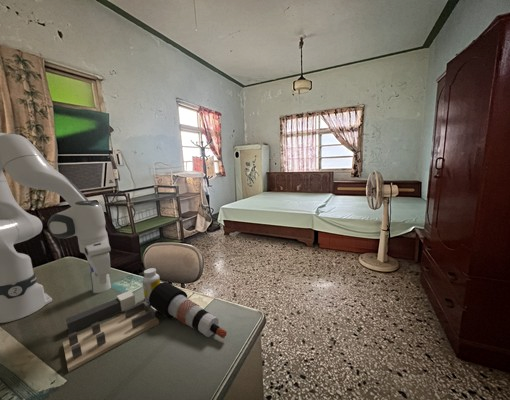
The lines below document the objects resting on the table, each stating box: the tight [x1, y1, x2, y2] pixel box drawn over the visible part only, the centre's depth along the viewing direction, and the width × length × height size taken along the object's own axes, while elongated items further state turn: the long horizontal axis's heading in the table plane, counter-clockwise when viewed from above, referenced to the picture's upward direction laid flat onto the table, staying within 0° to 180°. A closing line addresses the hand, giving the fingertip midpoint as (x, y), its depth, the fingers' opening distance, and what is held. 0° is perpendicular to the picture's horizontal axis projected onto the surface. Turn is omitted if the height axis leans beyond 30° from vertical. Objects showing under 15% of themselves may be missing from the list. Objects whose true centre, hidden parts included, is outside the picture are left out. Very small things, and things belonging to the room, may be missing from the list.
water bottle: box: [85, 256, 112, 294], centre depth 102 cm, size 8×9×25 cm
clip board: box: [62, 300, 160, 373], centre depth 73 cm, size 14×25×4 cm, turn 136°
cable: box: [148, 281, 228, 339], centre depth 77 cm, size 10×34×10 cm, turn 54°
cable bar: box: [66, 290, 137, 335], centre depth 83 cm, size 5×21×5 cm, turn 136°
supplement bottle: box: [141, 267, 161, 303], centre depth 93 cm, size 7×7×13 cm
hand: (100, 279), depth 82 cm, fingers open, 8 cm apart
